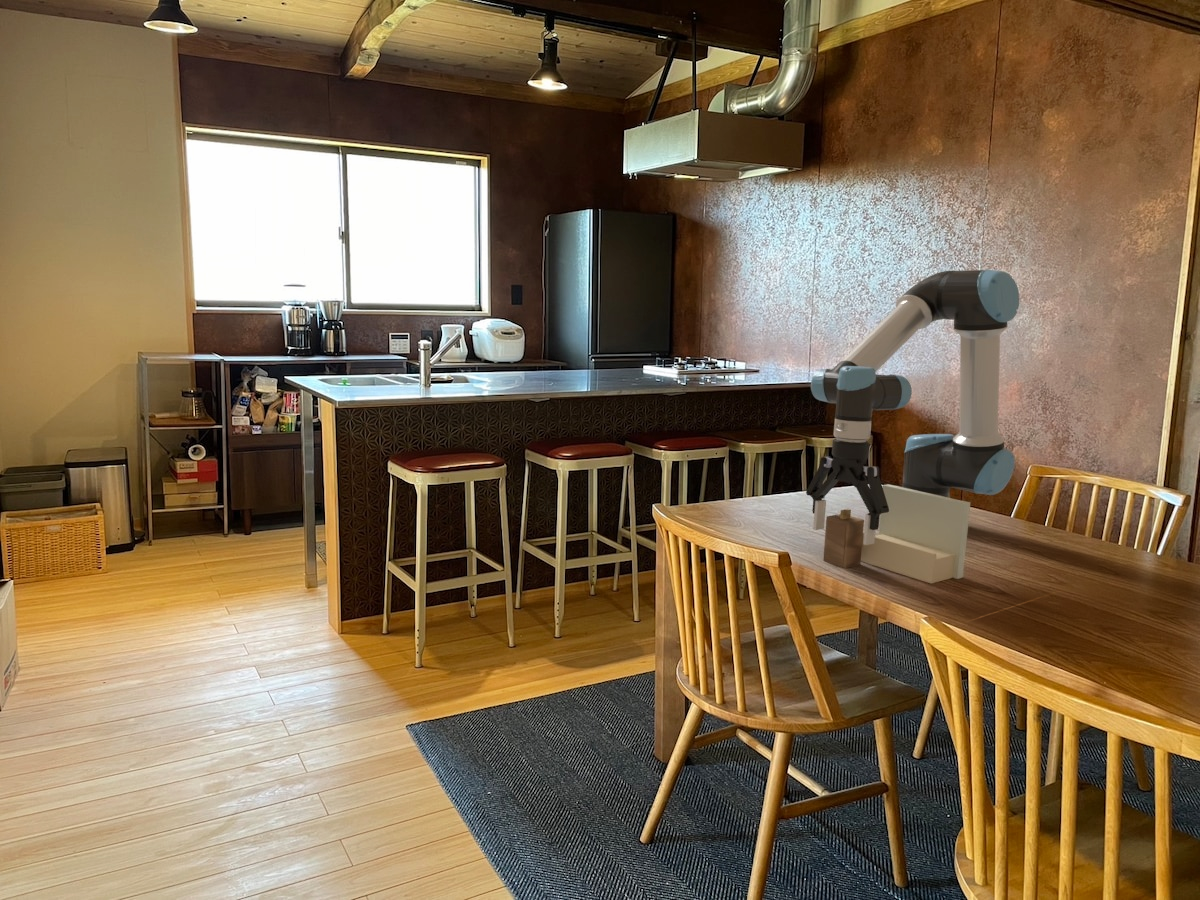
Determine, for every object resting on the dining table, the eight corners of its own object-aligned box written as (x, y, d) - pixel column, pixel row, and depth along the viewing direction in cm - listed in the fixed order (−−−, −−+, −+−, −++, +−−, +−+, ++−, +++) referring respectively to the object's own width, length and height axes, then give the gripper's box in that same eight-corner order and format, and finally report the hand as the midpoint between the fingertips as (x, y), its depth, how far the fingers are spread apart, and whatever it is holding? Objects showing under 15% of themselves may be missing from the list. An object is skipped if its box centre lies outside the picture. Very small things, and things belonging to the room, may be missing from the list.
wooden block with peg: (838, 557, 191) (842, 505, 189) (860, 564, 187) (864, 511, 185) (822, 560, 188) (826, 508, 186) (844, 568, 184) (848, 514, 182)
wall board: (882, 553, 195) (888, 484, 193) (962, 577, 179) (970, 502, 177) (855, 559, 190) (860, 488, 187) (935, 585, 174) (942, 508, 171)
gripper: (794, 432, 191) (787, 525, 194) (889, 449, 171) (879, 553, 174) (817, 430, 195) (810, 521, 199) (912, 447, 175) (902, 548, 178)
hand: (842, 536), depth 186 cm, fingers open, 13 cm apart
